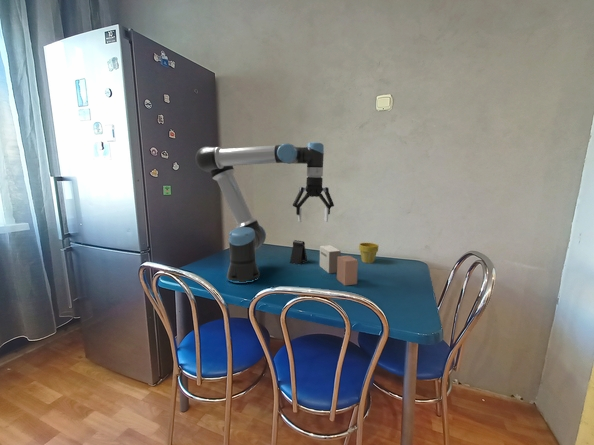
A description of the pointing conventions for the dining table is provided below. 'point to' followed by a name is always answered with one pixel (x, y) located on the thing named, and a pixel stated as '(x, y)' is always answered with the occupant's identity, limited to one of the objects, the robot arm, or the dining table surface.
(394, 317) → the dining table surface
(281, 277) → the dining table surface
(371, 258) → the plant pot
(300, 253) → the black a-frame stand
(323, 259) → the white box
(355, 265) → the salmon pink rectangular block
